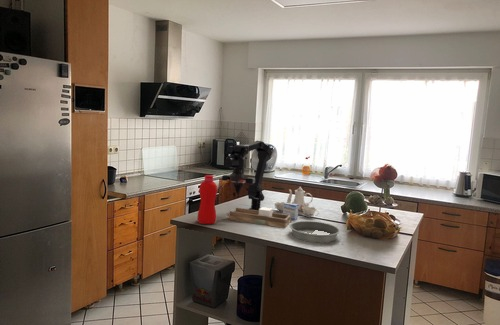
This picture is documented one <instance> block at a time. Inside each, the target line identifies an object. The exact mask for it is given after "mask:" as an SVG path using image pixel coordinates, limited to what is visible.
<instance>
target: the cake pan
mask: <svg viewBox="0 0 500 325" xmlns="http://www.w3.org/2000/svg"><path fill="white" fill-rule="evenodd" d="M289 228H290V230H291V232H292V236H293V237H294V236H295V237H294V238H296V239H298V238H299V239H298V240H301V241H304V240H305V241H306V242H309V243H316V242H327V243H332V242H334V240H335V239H337V237H338V234H340V232H341V230H340V228H339V227H337V226H335V225H333V224H329V223H325V222H321V221H313V220H312V221H311V220H303V221H295V222H292V223H289ZM315 230H318V231H324V232H327V233H330V234H329V235H317V234H312V233H313V232H314V231H315ZM306 232H307V233H306ZM309 233H311V234H309ZM331 241H332V242H331ZM335 241H336V240H335Z"/></svg>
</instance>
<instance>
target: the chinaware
mask: <svg viewBox="0 0 500 325" xmlns="http://www.w3.org/2000/svg"><path fill="white" fill-rule="evenodd" d="M288 191H289V195H288V197H287V201H286V202H287V203H293V204H298V205H299V208H298V215H304V216H305V217H306V218H312V217H315V216H316V217H317V216H318V215H319V211H318V210H317V209H318V208H316V207H314V206H311V207H310V204H311V203H312V202H313V195H312V194H311V193H309V192H306V191H305V190H303V188H302V187H301V186H299V187H298V188H297V189H295V190H294V198H293V197H292V196H293V191H292V189H288ZM307 195H309V196H310V197H311V200H310V201H309V202H305V197H307ZM292 198H293V201H292ZM284 203H285V202H284V201H281V202H279V201H278V202H277V201H276V202H275V203H274V208H275V209H276V210H277V211H278V213H279V214H283V205H284ZM316 212H317V214H315V213H316Z"/></svg>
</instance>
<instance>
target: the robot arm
mask: <svg viewBox="0 0 500 325" xmlns="http://www.w3.org/2000/svg"><path fill="white" fill-rule="evenodd" d="M252 151H256V152H257V158H258V162H257V166H256V169H255V174H254V177H253V176H251V177H250V176H248V177H246V178H245V170H246V169H245V162H246V160H247V159H248V157H247V155H248V154H249V152H252ZM272 155H273V150H272V148H271V146H269V145H268V144H266V143H265V141H262V140H255V141H252V142H249V143H246V144H235V145H234V147H233V148H232V150H231V152H230V154H229V155H227V157H226V158H225V159H224V162H223V163H224V167H225V168H227V169H233V170H232V172H231V174H224V175H222V176H221V181H225V182H227V181H228V180H230V183H231V184H232V185H233V186H234V189H235V193H236V194H237V195H238V194H239V193H240V192H241V189H242V188H243V186H244V184H248V188H247V197H248V199H249V200H251V204H250V207H249V209H250V210H257V211H259V209H260V208H261V203H262V202H263V201H264V200H265V195H264V193H263V187H262V182H263V178H264V174H265V170H266V166H267V163H268V161H269V160H271V156H272Z"/></svg>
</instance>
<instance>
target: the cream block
mask: <svg viewBox="0 0 500 325" xmlns="http://www.w3.org/2000/svg"><path fill="white" fill-rule="evenodd" d="M272 213H273V208H271V207H265V206H264V207H263V206H261V207H260V209H259V215H260V216H267V217H272Z"/></svg>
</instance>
